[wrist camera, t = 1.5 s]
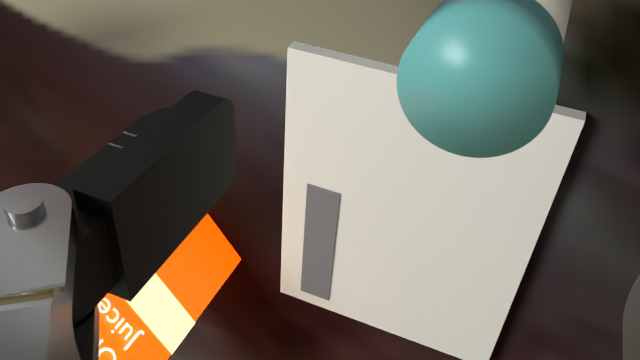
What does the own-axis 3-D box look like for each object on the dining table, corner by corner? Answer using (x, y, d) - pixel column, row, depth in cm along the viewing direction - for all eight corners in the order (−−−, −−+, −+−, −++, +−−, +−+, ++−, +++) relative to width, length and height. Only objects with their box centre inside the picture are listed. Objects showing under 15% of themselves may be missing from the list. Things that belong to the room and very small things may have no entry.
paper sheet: (586, 112, 26) (585, 122, 25) (488, 357, 37) (485, 369, 36) (294, 41, 29) (286, 48, 29) (285, 283, 41) (279, 292, 40)
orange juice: (174, 276, 46) (-44, 535, 31) (101, 186, 43) (-177, 423, 28) (244, 259, 41) (28, 553, 26) (168, 156, 38) (-124, 422, 23)
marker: (600, -89, 21) (580, 34, 13) (567, 11, 24) (530, 175, 15) (495, -105, 22) (409, -2, 14) (473, -7, 25) (387, 135, 16)
